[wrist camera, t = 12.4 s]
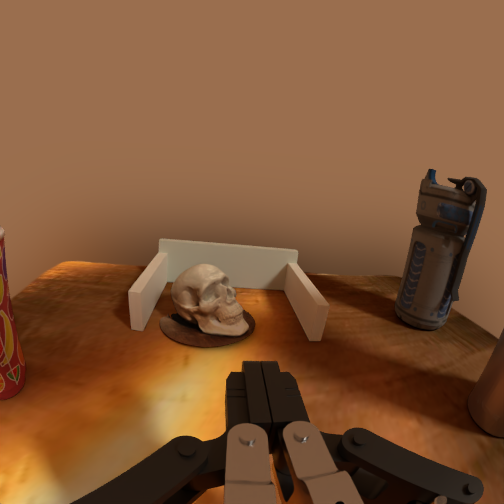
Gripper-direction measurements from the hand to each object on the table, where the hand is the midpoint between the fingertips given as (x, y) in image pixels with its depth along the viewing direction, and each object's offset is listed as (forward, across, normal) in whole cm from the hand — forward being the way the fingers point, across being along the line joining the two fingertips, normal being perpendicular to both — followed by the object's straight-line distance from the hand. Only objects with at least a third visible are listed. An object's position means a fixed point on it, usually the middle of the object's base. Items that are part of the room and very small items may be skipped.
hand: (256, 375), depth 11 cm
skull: (+21, +3, +10) cm, 24 cm away
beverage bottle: (+22, -32, +11) cm, 40 cm away
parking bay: (+26, 0, +10) cm, 27 cm away
